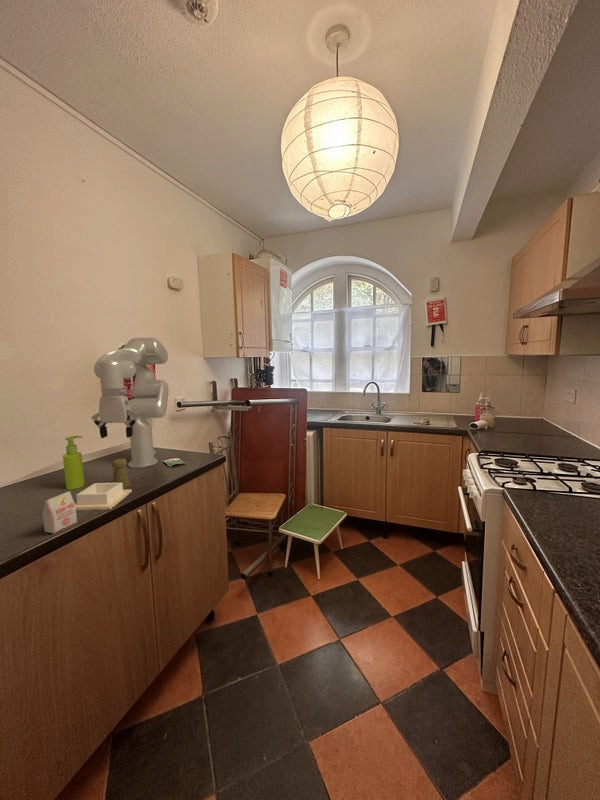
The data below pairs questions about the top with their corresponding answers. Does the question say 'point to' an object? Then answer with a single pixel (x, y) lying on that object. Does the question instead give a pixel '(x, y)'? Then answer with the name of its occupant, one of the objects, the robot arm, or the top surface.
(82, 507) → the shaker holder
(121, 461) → the cork
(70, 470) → the soap dispenser
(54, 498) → the white carton
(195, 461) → the top surface
